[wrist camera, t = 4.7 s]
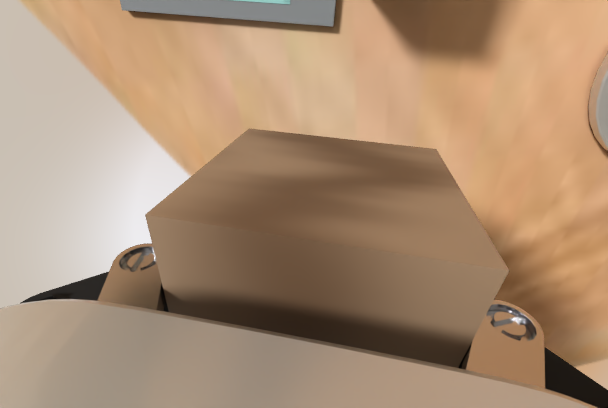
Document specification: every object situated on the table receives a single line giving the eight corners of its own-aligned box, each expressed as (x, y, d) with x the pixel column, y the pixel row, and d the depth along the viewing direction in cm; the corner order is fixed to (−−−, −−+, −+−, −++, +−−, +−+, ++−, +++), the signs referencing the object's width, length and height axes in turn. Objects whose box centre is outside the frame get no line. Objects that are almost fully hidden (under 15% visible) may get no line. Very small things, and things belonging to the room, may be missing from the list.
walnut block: (436, 149, 10) (509, 270, 5) (395, 289, 13) (414, 450, 8) (248, 128, 11) (145, 214, 6) (253, 266, 14) (190, 399, 9)
